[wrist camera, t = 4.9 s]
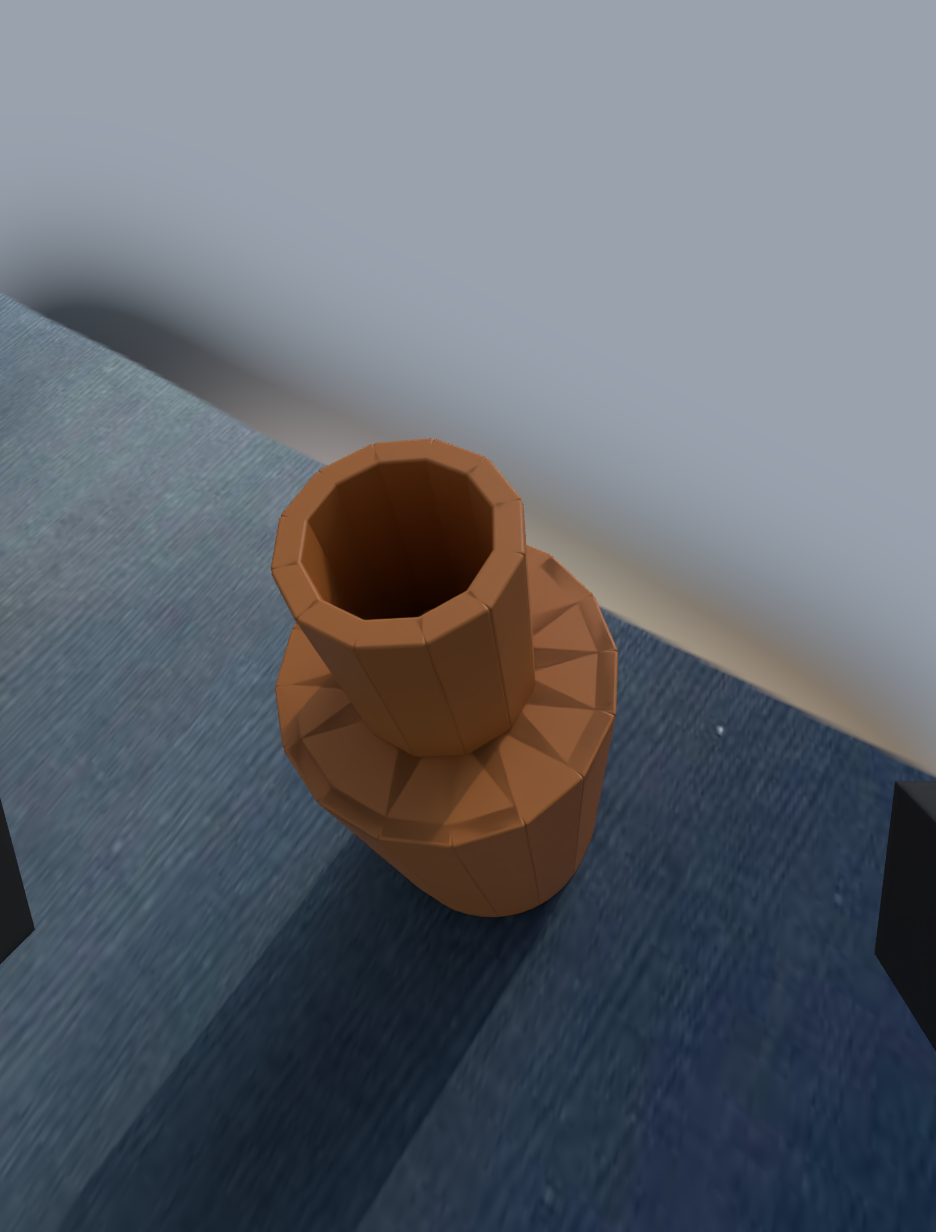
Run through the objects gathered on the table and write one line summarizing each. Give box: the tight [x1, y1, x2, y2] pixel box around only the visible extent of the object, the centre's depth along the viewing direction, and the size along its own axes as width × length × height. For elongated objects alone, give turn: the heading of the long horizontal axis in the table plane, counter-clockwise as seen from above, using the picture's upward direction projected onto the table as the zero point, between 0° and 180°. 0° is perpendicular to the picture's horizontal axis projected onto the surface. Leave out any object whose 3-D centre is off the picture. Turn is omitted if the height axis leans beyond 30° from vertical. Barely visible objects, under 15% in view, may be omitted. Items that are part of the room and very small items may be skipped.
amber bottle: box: [271, 439, 618, 917], centre depth 15 cm, size 6×6×14 cm
